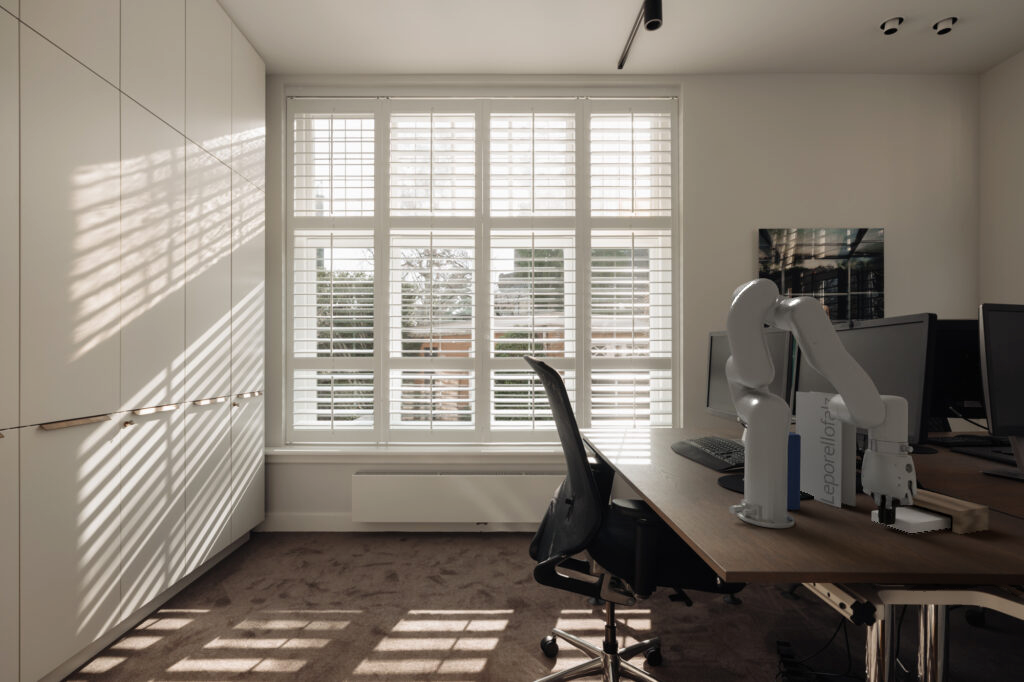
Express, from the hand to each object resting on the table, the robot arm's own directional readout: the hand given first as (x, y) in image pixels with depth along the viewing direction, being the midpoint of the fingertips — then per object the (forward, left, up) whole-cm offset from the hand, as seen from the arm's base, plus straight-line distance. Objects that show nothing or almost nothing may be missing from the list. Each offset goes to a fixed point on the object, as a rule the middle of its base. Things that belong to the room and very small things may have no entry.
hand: (886, 523), depth 117 cm
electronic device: (-10, +21, -1) cm, 23 cm away
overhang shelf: (+17, 0, -1) cm, 17 cm away
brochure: (+6, +21, -1) cm, 22 cm away
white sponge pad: (+9, 0, -1) cm, 9 cm away
